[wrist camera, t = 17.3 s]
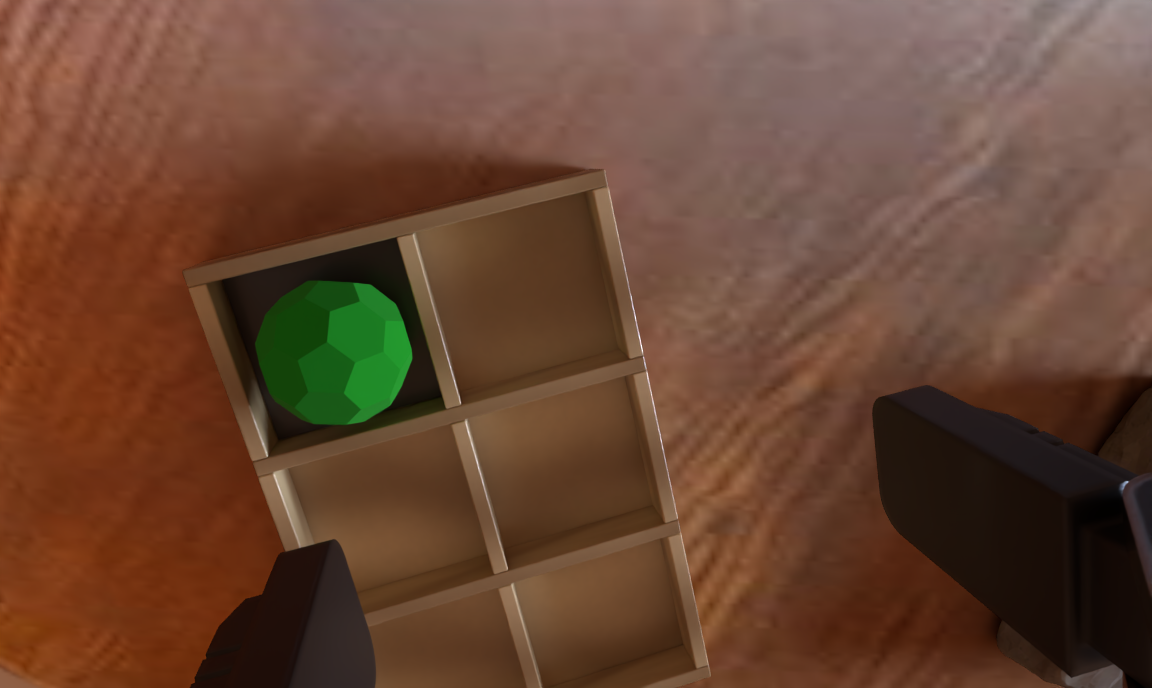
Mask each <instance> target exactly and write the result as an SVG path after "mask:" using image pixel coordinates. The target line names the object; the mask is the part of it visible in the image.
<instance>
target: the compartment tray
mask: <svg viewBox="0 0 1152 688" xmlns="http://www.w3.org/2000/svg"><path fill="white" fill-rule="evenodd" d="M607 185H608V182H607V178H606V173H605V170H604V169H588V170H584V171H580V172H575V173H571V174H567V175H563V176H559V177H555V178H550V179H546V180H542V181H538V182H534V183H530V184H525V185H521V186H517V187H513V188H509V189H505V190H500V191H496V192H492V193H488V194H484V195H480V196H475V197H471V198H467V199H463V200H459V201H455V202H450V203H446V204H442V205H438V206H434V207H430V208H425V209H421V210H417V211H413V212H409V213H405V214H400V215H396V216H392V217H388V218H384V219H380V220H375V221H371V222H367V223H363V224H359V225H355V226H350V227H346V228H342V229H338V230H334V231H330V232H325V233H321V234H317V235H313V236H309V237H305V238H300V239H296V240H292V241H288V242H284V243H280V244H275V245H271V246H267V247H263V248H259V249H255V250H250V251H246V252H242V253H238V254H234V255H230V256H225V257H221V258H217V259H213V260H209V261H205V262H202V263H199V264H197V265H195V266H192V267H190V268H187V269H185V270H183V271H182V273H183V276H184V279H185V281H186V284H187V286H188V287H190V288H189V292H190V295H191V298H192V301H193V303H194V306H195V309H196V311H197V314H198V317H199V320H200V322H201V325H202V328H203V330H204V333H205V336H206V339H207V341H208V344H209V347H210V349H211V352H212V355H213V358H214V360H215V363H216V366H217V368H218V371H219V374H220V377H221V379H222V382H223V385H224V387H225V390H226V393H227V396H228V398H229V401H230V404H231V406H232V409H233V412H234V415H235V417H236V420H237V423H238V425H239V428H240V431H241V434H242V436H243V439H244V442H245V444H246V447H247V450H248V453H249V455H250V458H251V460H252V461H253V466H254V469H255V472H256V474H257V476H259V477H258V480H259V482H260V485H261V488H262V491H263V493H264V496H265V499H266V501H267V504H268V507H269V510H270V512H271V515H272V518H273V520H274V523H275V526H276V529H277V531H278V534H279V537H280V539H281V542H282V545H283V548H284V550H285V552H286V551H290V550H294V549H297V548H301V547H305V546H309V545H313V544H316V543H320V542H324V541H328V540H332V539H336V540H337V541H338V542H339V544H340V545H341V547H342V550H343V552H344V555H345V557H346V560H347V564H348V567H349V570H350V573H351V576H352V579H353V582H354V585H355V588H356V591H357V594H358V597H359V601H360V604H361V607H362V610H363V613H364V616H365V619H366V622H367V625H368V628H369V632H370V635H371V639H372V643H373V648H374V654H375V663H376V684H375V688H677V687H680V686H683V685H686V684H689V683H692V682H695V681H698V680H701V679H705V678H708V677H710V676H711V673H710V668H709V665H708V659H707V654H706V649H705V644H704V640H703V635H702V630H701V625H700V620H699V616H698V611H697V606H696V601H695V597H694V592H693V587H692V582H691V578H690V573H689V568H688V563H687V559H686V554H685V549H684V544H683V540H682V535H681V533H680V532H681V530H680V525H679V520H678V516H677V511H676V506H675V501H674V497H673V492H672V487H671V482H670V478H669V473H668V468H667V463H666V459H665V454H664V449H663V444H662V440H661V435H660V430H659V425H658V420H657V416H656V411H655V406H654V401H653V397H652V392H651V387H650V382H649V378H648V373H647V371H646V363H645V359H644V356H643V349H642V344H641V340H640V335H639V330H638V325H637V320H636V316H635V311H634V306H633V301H632V297H631V292H630V287H629V282H628V278H627V273H626V268H625V263H624V259H623V254H622V249H621V244H620V240H619V235H618V230H617V225H616V220H615V216H614V211H613V206H612V201H611V197H610V192H609V188H608V186H607ZM307 281H334V282H350V283H360V284H369V285H372V286H373V287H374V288H376V289H377V290H378V291H380V292H381V293H382V294H384V295H385V296H386V297H387V298H389V299H390V300H391V301H393V302H394V303H395V304H396V306H397V308H398V310H399V313H400V315H401V317H402V319H403V322H404V325H405V329H406V332H407V335H408V339H409V342H410V346H411V349H412V361H411V364H410V366H409V369H408V372H407V374H406V377H405V379H404V382H403V384H402V387H401V389H400V390H399V392H398V394H397V395H396V397H395V399H394V400H393V402H392V404H391V405H390V406H389V407H387V408H385V409H384V410H382V411H381V412H379V413H377V414H376V415H374V416H373V417H371V418H369V419H368V420H366V421H365V422H360V423H354V424H348V425H328V424H312V423H309V422H306V421H303V420H301V419H300V418H298V417H297V416H295V415H294V414H292V413H291V412H290V411H288V410H287V409H285V408H284V407H282V406H281V405H280V404H278V403H277V402H275V400H274V399H273V398H272V396H271V395H270V393H269V390H268V387H267V385H266V382H265V379H264V376H263V373H262V370H261V367H260V365H259V360H258V355H257V351H256V346H255V342H256V340H257V337H258V334H259V331H260V328H261V326H262V323H263V320H264V317H265V314H266V313H267V312H268V311H269V310H270V309H271V308H272V307H273V306H274V304H275V303H276V302H277V301H278V300H279V299H280V298H281V297H283V296H284V295H286V294H287V293H289V292H291V291H292V290H294V289H295V288H297V287H299V286H300V285H302V284H303V283H305V282H307Z"/></svg>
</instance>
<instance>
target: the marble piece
mask: <svg viewBox="0 0 1152 688" xmlns="http://www.w3.org/2000/svg"><path fill="white" fill-rule="evenodd" d="M1098 457H1100V458H1102V459H1105V460H1107V461H1109V462H1111V463H1113V464H1115V465H1117V466H1120V467H1122V468H1124V469H1126V470H1128V471H1130V472H1132V473H1134V474H1137V475H1139V476H1140V475H1143V474H1146V473H1150V472H1152V387H1151V388H1149V389H1147V390H1146V391H1145V392H1143V393H1142V395H1141V396H1140V397H1139V399H1138V400H1137V402H1135V404H1134V405H1133V406H1132V407H1131V408H1130V410H1129V411H1128V412H1127V413H1126V414H1125V415H1124V417H1123V418H1122V420H1121V422H1120V423H1119V424H1118V426H1117V427H1116V429H1115V431H1114V432H1113V433H1112V434H1111V435H1110V437H1109V438H1108V439H1107V440H1106V442H1105V443H1104V445H1103V446H1102V448H1101V449H1100V451H1099V453H1098ZM996 638H997V646H998V648H999V649H1000V651H1001V652H1002V653H1003V654H1004V655H1005V656H1007V657H1009V658H1011V659H1013V660H1014V661H1016V662H1017V663H1019V664H1021V665H1022V666H1024V667H1025V668H1027V669H1028V670H1029V671H1031V672H1032V673H1034V674H1036V675H1037V676H1039V677H1040V678H1041V679H1043V680H1044V681H1046V682H1049V683H1053V684H1057V685H1060V686H1062V687H1065V688H1122V670H1121V669H1120V668H1118V667H1117V666H1116V665H1111V666H1108V667H1105V668H1101V669H1098V670H1095V671H1092V672H1089V673H1086V674H1082V675H1079V676H1076V677H1073V678H1071V677H1070V676H1068V675H1067V674H1066V673H1065V672H1064V671H1062V670H1061V669H1060V668H1059V667H1058V666H1057V665H1055V664H1054V663H1053V662H1052V661H1051V660H1049V659H1048V658H1047V657H1046V656H1045V655H1043V654H1042V653H1041V652H1040V651H1039V650H1037V649H1036V648H1035V647H1034V646H1033V645H1032V644H1030V643H1029V642H1028V641H1027V640H1026V639H1024V638H1023V637H1022V636H1021V635H1020V634H1018V633H1017V632H1016V631H1015V630H1014V629H1012V628H1011V627H1010V626H1009V625H1008V624H1007V623H1005V622H1004V621H1003V620H1002V622H1001V624H1000V626H999V629H998V633H997V636H996Z"/></svg>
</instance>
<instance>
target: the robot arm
mask: <svg viewBox="0 0 1152 688" xmlns="http://www.w3.org/2000/svg"><path fill="white" fill-rule="evenodd" d="M872 416H873V428H874V438H875V448H876V459H877V469H878V479H879V489H880V496H881V501H882V504H883V507H884V510H885V512H886V514H887V516H888V518H889V520H890V522H891V524H892V525H893V526H894V528H895V529H896V530H897V531H898V532H899V533H900V534H901V535H902V536H903V537H904V538H905V539H907V540H908V541H909V542H910V543H911V544H912V545H914V546H915V547H916V548H917V549H918V550H920V551H921V552H922V553H923V554H924V555H926V556H927V557H928V558H929V559H930V560H932V561H933V562H934V563H935V564H936V565H937V566H939V567H940V568H941V569H942V570H943V571H945V572H946V573H947V574H948V575H949V576H951V577H952V578H953V579H954V580H955V581H957V582H958V583H959V584H960V585H961V586H962V587H964V588H965V589H966V590H967V591H968V592H970V593H971V594H972V595H973V596H974V597H976V598H977V599H978V600H979V601H980V602H982V603H983V604H984V605H985V606H986V607H987V608H989V609H990V610H991V611H992V612H993V613H995V614H996V615H997V616H998V617H999V618H1001V619H1002V620H1003V621H1004V622H1005V623H1007V624H1008V625H1009V626H1010V627H1011V628H1012V629H1014V630H1015V631H1016V632H1017V633H1018V634H1020V635H1021V636H1022V637H1023V638H1024V639H1026V640H1027V641H1028V642H1029V643H1030V644H1032V645H1033V646H1034V647H1035V648H1036V649H1037V650H1039V651H1040V652H1041V653H1042V654H1043V655H1045V656H1046V657H1047V658H1048V659H1049V660H1051V661H1052V662H1053V663H1054V664H1055V665H1057V666H1058V667H1059V668H1060V669H1061V670H1062V671H1064V672H1065V673H1066V674H1067V675H1068V676H1070V677H1071V678H1073V677H1076V676H1079V675H1082V674H1086V673H1089V672H1092V671H1095V670H1098V669H1101V668H1105V667H1108V666H1111V665H1116V666H1117V667H1118V668H1120V669H1121V670H1122V688H1152V472H1150V473H1146V474H1143V475H1140V476H1139V475H1137V474H1134V473H1132V472H1130V471H1128V470H1126V469H1124V468H1122V467H1120V466H1117V465H1115V464H1113V463H1111V462H1109V461H1107V460H1105V459H1102V458H1100V457H1098V456H1096V455H1094V454H1092V453H1090V452H1087V451H1085V450H1083V449H1081V448H1079V447H1077V446H1075V445H1072V444H1070V443H1066V444H1064V443H1063V440H1062V439H1060V438H1058V437H1055V436H1053V435H1051V434H1049V433H1047V432H1045V431H1043V432H1039V430H1038V428H1036V427H1034V426H1032V425H1030V424H1028V423H1025V422H1023V421H1021V420H1019V419H1017V418H1015V417H1013V416H1010V415H1008V414H1003V413H999V412H994V411H989V410H985V409H980V408H976V407H974V406H972V405H969V404H967V403H965V402H963V401H961V400H959V399H957V398H955V397H953V396H951V395H949V394H947V393H945V392H943V391H940V390H938V389H936V388H934V387H932V386H929V385H925V386H921V387H917V388H913V389H909V390H905V391H902V392H898V393H894V394H890V395H886V396H882V397H879V398H878V399H877V400H876V401H875V403H874V405H873V412H872ZM375 684H376V663H375V654H374V648H373V643H372V639H371V635H370V632H369V628H368V625H367V622H366V619H365V616H364V613H363V610H362V607H361V604H360V601H359V597H358V594H357V591H356V588H355V585H354V582H353V579H352V576H351V573H350V570H349V567H348V564H347V560H346V557H345V555H344V552H343V550H342V547H341V545H340V544H339V542H338V541H337V540H336V539H332V540H328V541H324V542H320V543H316V544H313V545H309V546H305V547H301V548H297V549H294V550H290V551H286V552H282V553H280V554H279V555H278V557H277V559H276V562H275V564H274V566H273V569H272V571H271V574H270V576H269V579H268V581H267V584H266V586H265V589H264V591H263V594H262V595H259V596H255V597H251V598H247V599H245V600H244V601H243V602H242V603H241V604H240V605H239V606H238V607H237V608H236V609H235V610H234V611H233V612H232V613H231V615H230V616H229V617H228V618H227V619H226V620H225V621H224V622H223V623H222V624H221V625H220V626H219V627H218V629H217V631H216V633H215V636H214V638H213V640H212V642H211V644H210V646H209V648H208V650H207V653H206V659H205V660H203V661H202V663H201V665H200V667H199V670H198V672H197V674H196V676H195V683H194V684H192V685H191V687H190V688H375Z"/></svg>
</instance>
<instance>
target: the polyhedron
mask: <svg viewBox="0 0 1152 688" xmlns="http://www.w3.org/2000/svg"><path fill="white" fill-rule="evenodd" d="M255 346H256V351H257V355H258V360H259V365H260V367H261V370H262V373H263V376H264V379H265V382H266V385H267V387H268V390H269V393H270V395H271V396H272V398H273V399H274V400H275V402H277V403H278V404H280V405H281V406H282V407H284V408H285V409H287V410H288V411H290V412H291V413H292V414H294V415H295V416H297V417H298V418H300V419H301V420H303V421H306V422H309V423H312V424H328V425H348V424H354V423H360V422H365V421H366V420H368V419H369V418H371V417H373V416H374V415H376V414H377V413H379V412H381V411H382V410H384V409H385V408H387V407H389V406H390V405H391V404H392V402H393V400H394V399H395V397H396V395H397V394H398V392H399V390H400V389H401V387H402V384H403V382H404V379H405V377H406V374H407V372H408V369H409V366H410V364H411V361H412V349H411V346H410V342H409V339H408V335H407V332H406V329H405V325H404V322H403V319H402V317H401V315H400V313H399V310H398V308H397V306H396V304H395V303H394V302H393V301H391V300H390V299H389V298H387V297H386V296H385V295H384V294H382V293H381V292H380V291H378V290H377V289H376V288H374V287H373V286H372V285H369V284H360V283H350V282H334V281H307V282H305V283H303V284H302V285H300V286H299V287H297V288H295V289H294V290H292V291H291V292H289V293H287V294H286V295H284V296H283V297H281V298H280V299H279V300H278V301H277V302H276V303H275V304H274V306H273V307H272V308H271V309H270V310H269V311H268V312H267V313H266V314H265V317H264V320H263V323H262V326H261V328H260V331H259V334H258V337H257V340H256V342H255Z"/></svg>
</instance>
